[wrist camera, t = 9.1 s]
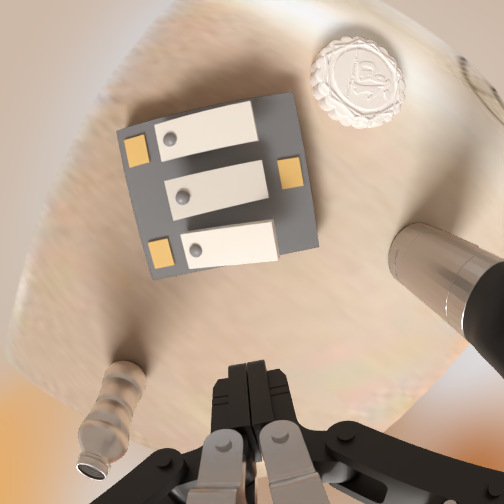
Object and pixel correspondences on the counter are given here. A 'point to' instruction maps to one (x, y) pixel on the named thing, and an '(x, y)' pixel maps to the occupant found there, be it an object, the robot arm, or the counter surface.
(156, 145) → the switch console
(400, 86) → the mooncake
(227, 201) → the plate
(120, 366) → the plastic bottle
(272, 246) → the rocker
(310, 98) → the counter surface
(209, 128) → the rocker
